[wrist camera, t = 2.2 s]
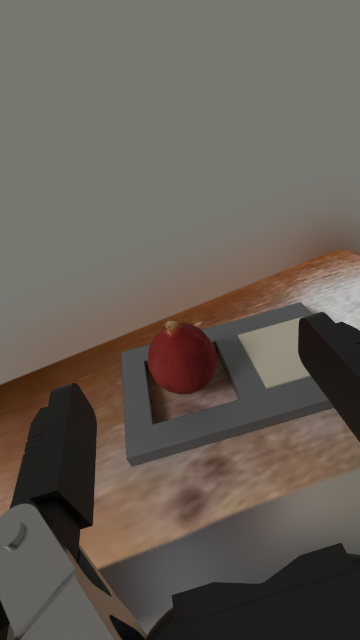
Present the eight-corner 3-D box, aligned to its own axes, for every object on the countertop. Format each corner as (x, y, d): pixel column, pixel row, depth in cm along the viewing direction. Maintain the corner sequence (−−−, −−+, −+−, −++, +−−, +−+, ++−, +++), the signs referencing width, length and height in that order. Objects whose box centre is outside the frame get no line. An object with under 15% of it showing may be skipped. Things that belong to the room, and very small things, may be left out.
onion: (187, 355, 32) (171, 291, 27) (233, 379, 28) (224, 311, 23) (147, 393, 29) (120, 329, 24) (192, 425, 25) (172, 358, 20)
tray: (131, 466, 24) (125, 457, 23) (124, 360, 33) (120, 351, 32) (376, 394, 24) (379, 383, 23) (300, 311, 34) (301, 300, 33)
